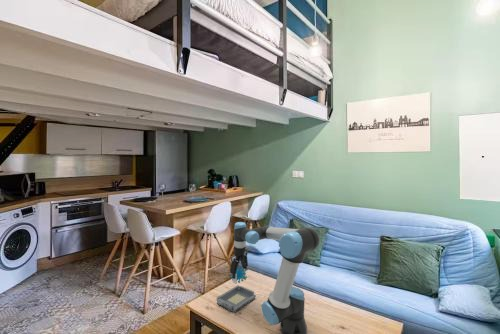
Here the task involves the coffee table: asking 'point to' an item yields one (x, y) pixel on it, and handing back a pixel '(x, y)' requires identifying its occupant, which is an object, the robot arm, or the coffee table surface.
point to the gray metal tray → (236, 298)
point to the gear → (240, 275)
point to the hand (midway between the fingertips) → (239, 280)
